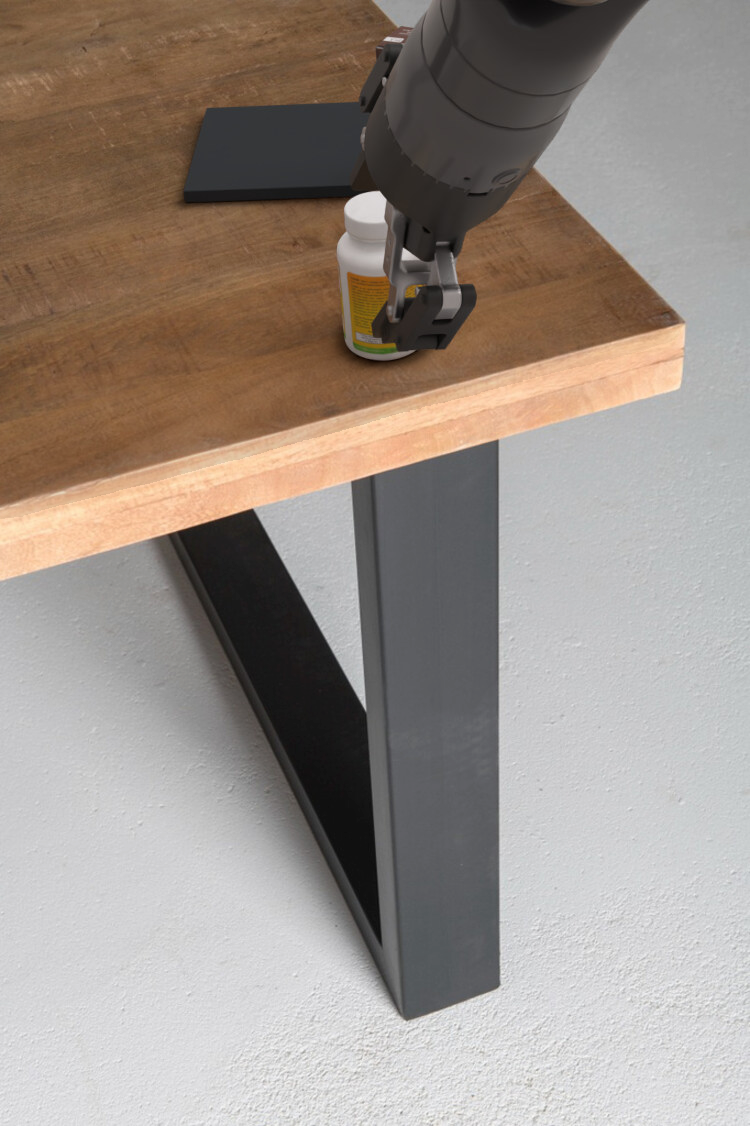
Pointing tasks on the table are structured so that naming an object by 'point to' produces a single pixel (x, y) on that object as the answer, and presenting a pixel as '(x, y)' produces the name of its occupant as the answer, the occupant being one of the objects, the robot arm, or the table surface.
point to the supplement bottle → (366, 275)
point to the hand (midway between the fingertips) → (378, 258)
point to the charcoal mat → (276, 152)
